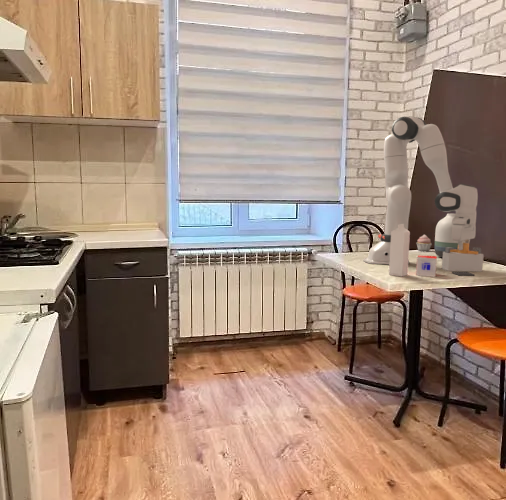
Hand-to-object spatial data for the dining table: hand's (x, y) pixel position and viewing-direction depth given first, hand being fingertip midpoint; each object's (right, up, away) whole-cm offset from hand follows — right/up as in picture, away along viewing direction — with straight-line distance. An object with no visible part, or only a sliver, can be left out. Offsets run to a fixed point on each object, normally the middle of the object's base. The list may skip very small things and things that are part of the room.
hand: (463, 249), depth 230 cm
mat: (-5, -11, -11) cm, 16 cm away
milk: (-35, -11, -15) cm, 39 cm away
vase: (+10, -5, +41) cm, 43 cm away
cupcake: (+5, -1, +69) cm, 69 cm away
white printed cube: (-22, -11, -13) cm, 28 cm away
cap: (0, -2, 0) cm, 2 cm away
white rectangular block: (0, -10, +1) cm, 10 cm away
